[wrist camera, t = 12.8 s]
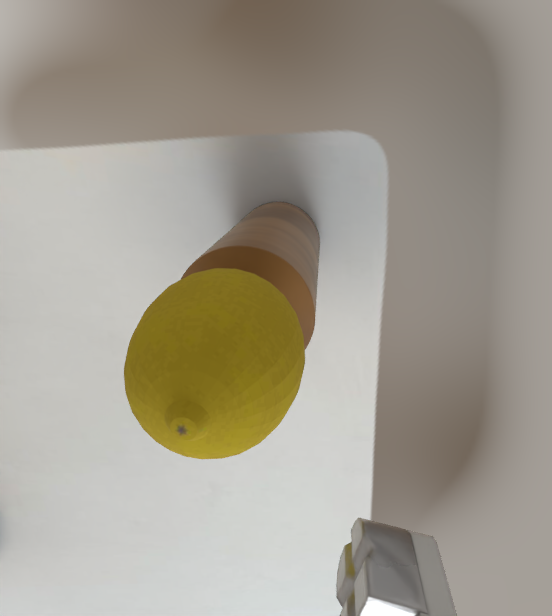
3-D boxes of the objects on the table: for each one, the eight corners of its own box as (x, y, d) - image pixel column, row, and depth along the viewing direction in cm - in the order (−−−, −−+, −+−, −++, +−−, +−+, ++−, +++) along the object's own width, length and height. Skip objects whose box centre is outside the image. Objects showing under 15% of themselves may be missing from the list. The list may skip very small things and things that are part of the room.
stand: (246, 192, 30) (184, 229, 17) (329, 213, 30) (332, 266, 17) (230, 272, 32) (165, 359, 19) (307, 292, 32) (295, 393, 19)
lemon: (189, 230, 17) (80, 297, 9) (325, 266, 17) (325, 364, 9) (169, 350, 19) (66, 485, 11) (290, 383, 19) (266, 540, 11)
